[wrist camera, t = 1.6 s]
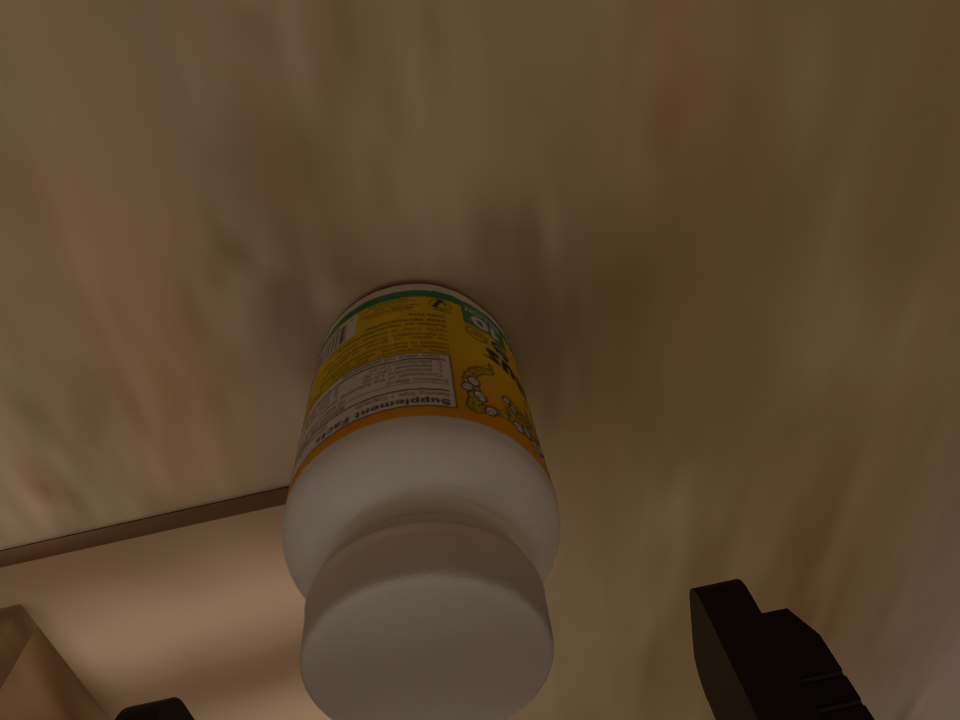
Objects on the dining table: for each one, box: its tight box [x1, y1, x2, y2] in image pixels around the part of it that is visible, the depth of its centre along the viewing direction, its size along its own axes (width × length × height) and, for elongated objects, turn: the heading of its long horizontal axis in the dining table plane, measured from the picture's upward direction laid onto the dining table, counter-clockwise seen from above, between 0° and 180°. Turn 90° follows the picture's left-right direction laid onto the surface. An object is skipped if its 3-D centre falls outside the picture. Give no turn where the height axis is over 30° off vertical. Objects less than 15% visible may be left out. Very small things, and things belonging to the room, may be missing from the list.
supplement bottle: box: [282, 284, 560, 720], centre depth 15 cm, size 5×5×10 cm
